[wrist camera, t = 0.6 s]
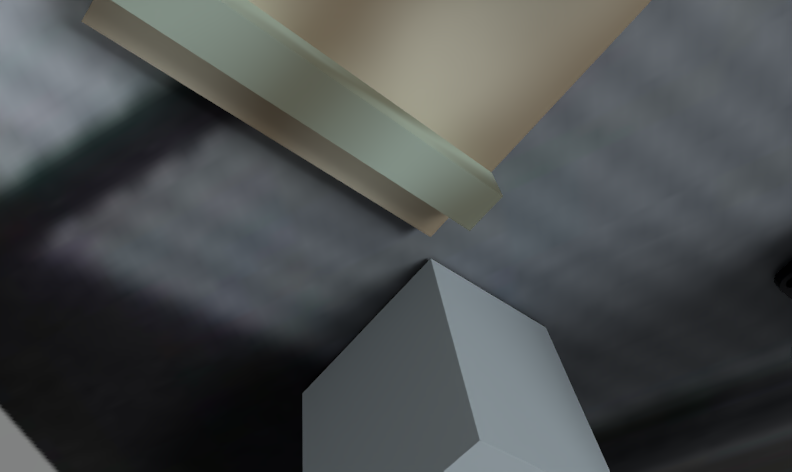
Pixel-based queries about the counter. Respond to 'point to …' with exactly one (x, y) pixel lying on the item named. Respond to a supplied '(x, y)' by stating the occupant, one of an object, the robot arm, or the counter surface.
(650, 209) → the counter surface
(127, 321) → the counter surface
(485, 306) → the cabinet block
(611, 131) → the counter surface
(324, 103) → the cleat board
